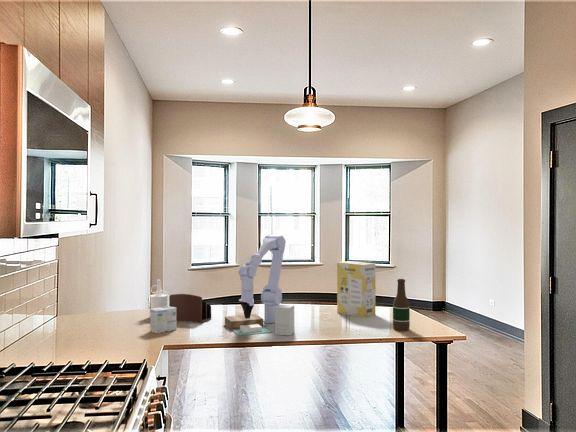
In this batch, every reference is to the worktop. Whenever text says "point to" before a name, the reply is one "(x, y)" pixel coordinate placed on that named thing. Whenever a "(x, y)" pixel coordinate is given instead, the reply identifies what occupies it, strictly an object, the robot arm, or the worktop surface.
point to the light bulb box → (163, 319)
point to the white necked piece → (159, 297)
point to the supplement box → (284, 320)
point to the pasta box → (356, 288)
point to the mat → (251, 332)
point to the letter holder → (190, 308)
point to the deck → (242, 321)
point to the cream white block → (250, 328)
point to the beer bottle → (401, 308)
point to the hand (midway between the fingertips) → (247, 318)
